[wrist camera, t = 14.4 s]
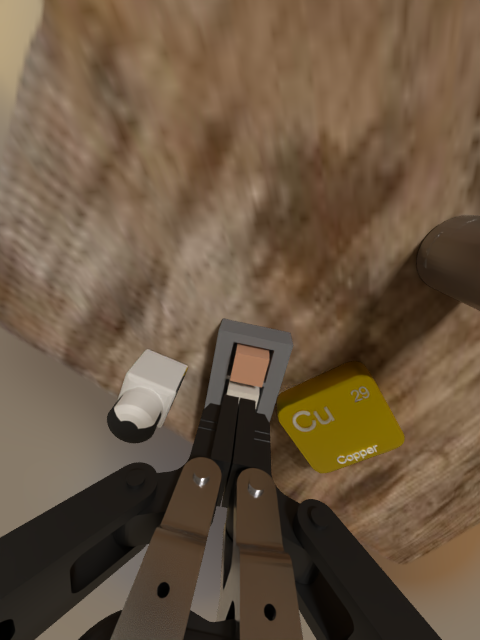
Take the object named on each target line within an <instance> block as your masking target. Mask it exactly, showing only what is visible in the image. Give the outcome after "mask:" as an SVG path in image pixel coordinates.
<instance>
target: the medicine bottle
mask: <svg viewBox="0 0 480 640" xmlns="http://www.w3.org/2000/svg"><path fill="white" fill-rule="evenodd" d="M187 369H188V366H187V365H185V364H182V363H180V362H178V361H175V360H173V359H170V358H168V357H166V356H163V355H161V354H158V353H156V352H154V351H151V350H149V349H146V350H145V351H144V352H143V354H142V355H141V356H140V357H139V358H138V360H137V361H136V362H135V363H134V365H133V366H132V367H131V368H130V370H129V371H128V372H127V373H126V376H125V379H124V382H123V385H122V388H121V391H120V394H119V397H118V400H117V402H116V404H115V405H114V406H113V408H112V409H111V410H110V412H109V413H108V416H107V423H108V426H109V429H110V431H111V432H112V433H113V434H114V435H115V436H116V437H117V438H119V439H120V440H123V441H125V442H129V443H140V442H143V441H146V440H148V439H149V438H151V437H152V435H153V433H154V431H155V429H156V427H158V428H161V427H162V425H163V423H164V421H165V419H166V417H167V415H168V412H169V410H170V408H171V406H172V404H173V401H174V399H175V397H176V395H177V392H178V390H179V388H180V385H181V383H182V381H183V378H184V376H185V374H186V372H187Z"/></svg>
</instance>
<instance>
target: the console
mask: <svg viewBox="0 0 480 640" xmlns="http://www.w3.org/2000/svg"><path fill="white" fill-rule="evenodd" d="M238 343H241V344H246V345H251V346H256V347H260V348H265V349H269V359H270V360H269V363H268V367H267V371H266V374H265V378H264V382H263V385H262V387H259V399H258V402H257V406H256V410H255V412H256V413H260V414H265V416H266V418H267V419H268V421H269V422H270V419H271V416H272V413H273V409H274V406H275V403H276V400H277V396H278V393H279V390H280V387H281V383H282V380H283V377H284V374H285V370H286V367H287V364H288V361H289V357H290V354H291V351H292V348H293V343H292V338H291V333H289V332H284V331H280V330H275V329H270V328H265V327H261V326H256V325H251V324H247V323H242V322H237V321H232V320H228V319H223V320H222V323H221V326H220V328H219V333H218V338H217V343H216V349H215V354H214V360H213V365H212V370H211V376H210V381H209V387H208V392H207V397H206V403H205V408H206V407H207V406H208V405H209V404H210V403H213V404H217V405H222V401H223V396H224V394H227V389H228V385H229V380H230V377H231V372H232V367H233V362H234V357H235V353H236V348H237V344H238ZM205 408H204V409H205Z"/></svg>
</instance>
